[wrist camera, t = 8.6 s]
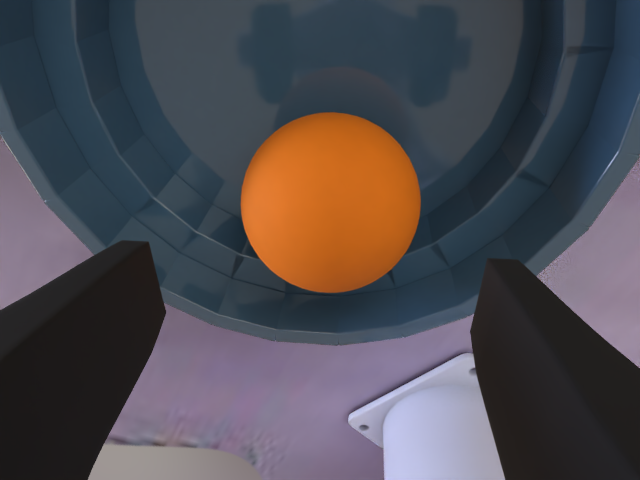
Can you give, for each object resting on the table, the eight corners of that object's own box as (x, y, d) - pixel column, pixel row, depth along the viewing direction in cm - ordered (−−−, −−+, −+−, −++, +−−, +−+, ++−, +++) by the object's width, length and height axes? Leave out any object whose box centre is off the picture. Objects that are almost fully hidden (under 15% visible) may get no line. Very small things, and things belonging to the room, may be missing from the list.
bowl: (705, 68, 15) (820, 116, 11) (319, 327, 22) (308, 408, 19) (318, -604, 9) (280, -992, 5) (-25, 51, 17) (-143, 87, 13)
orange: (422, 144, 17) (484, 250, 13) (316, 234, 20) (344, 348, 16) (314, 42, 14) (355, 144, 10) (204, 165, 16) (202, 286, 13)
